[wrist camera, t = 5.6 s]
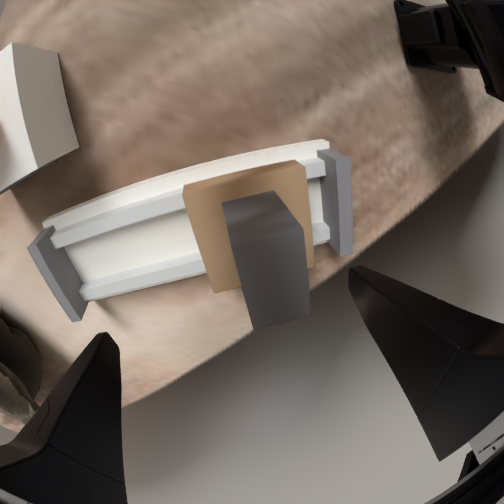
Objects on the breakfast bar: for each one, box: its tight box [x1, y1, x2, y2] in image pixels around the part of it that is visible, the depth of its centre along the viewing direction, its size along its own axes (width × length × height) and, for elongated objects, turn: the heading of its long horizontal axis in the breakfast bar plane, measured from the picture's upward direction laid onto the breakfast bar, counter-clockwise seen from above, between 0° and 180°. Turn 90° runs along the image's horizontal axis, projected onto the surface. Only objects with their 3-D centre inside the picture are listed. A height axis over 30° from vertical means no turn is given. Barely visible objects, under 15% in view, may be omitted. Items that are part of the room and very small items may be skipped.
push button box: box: [0, 43, 79, 195], centre depth 11 cm, size 8×8×6 cm
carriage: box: [182, 159, 315, 331], centre depth 15 cm, size 7×7×7 cm
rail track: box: [27, 139, 353, 322], centre depth 19 cm, size 22×8×4 cm, turn 101°
